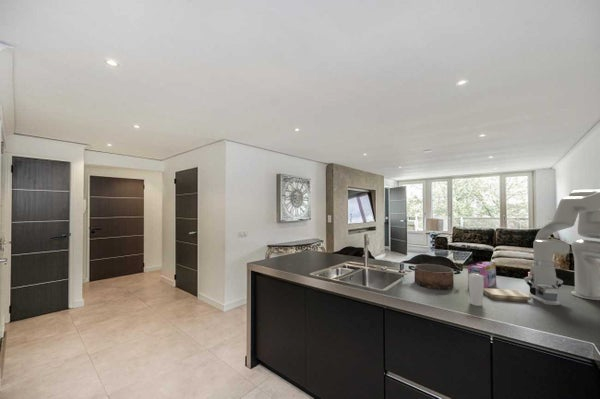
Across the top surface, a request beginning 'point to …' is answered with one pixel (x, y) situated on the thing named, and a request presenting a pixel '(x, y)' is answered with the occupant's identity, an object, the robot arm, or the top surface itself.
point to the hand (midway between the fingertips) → (543, 295)
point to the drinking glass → (476, 289)
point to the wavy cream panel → (506, 295)
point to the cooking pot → (434, 276)
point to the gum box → (484, 272)
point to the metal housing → (546, 294)
